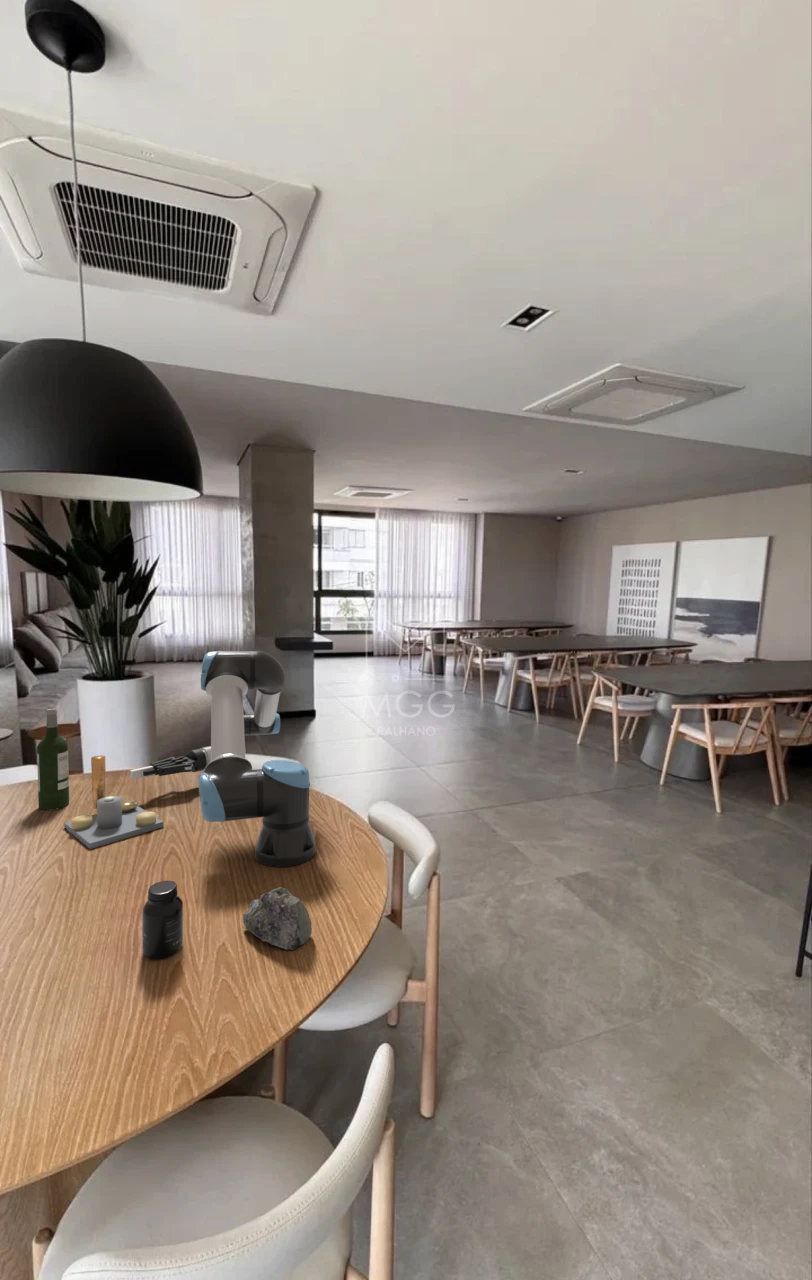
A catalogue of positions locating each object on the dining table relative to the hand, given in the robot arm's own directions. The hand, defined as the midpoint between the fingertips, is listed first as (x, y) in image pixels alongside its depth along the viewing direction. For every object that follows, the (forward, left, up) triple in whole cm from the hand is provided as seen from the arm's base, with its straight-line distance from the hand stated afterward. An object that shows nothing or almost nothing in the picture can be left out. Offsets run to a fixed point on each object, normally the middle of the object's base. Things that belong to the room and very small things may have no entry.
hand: (131, 775), depth 169 cm
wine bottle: (+5, +22, -9) cm, 25 cm away
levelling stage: (-18, +2, -9) cm, 20 cm away
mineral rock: (-81, -36, -9) cm, 89 cm away
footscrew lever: (-8, +3, -7) cm, 11 cm away
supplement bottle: (-79, -16, -9) cm, 81 cm away
